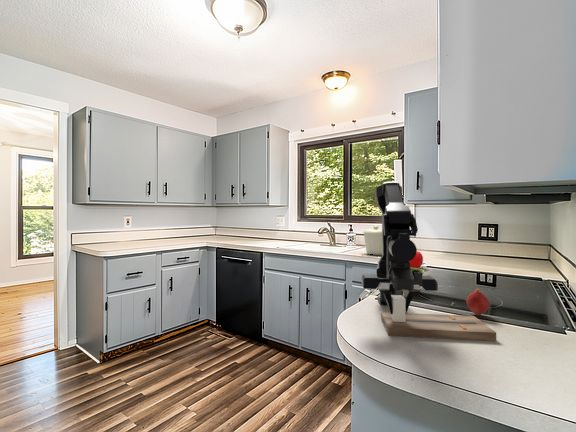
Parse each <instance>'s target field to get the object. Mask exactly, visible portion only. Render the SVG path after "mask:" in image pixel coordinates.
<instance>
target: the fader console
mask: <svg viewBox="0 0 576 432" xmlns="http://www.w3.org/2000/svg"><path fill="white" fill-rule="evenodd" d="M380 319H381V322H382V324H383V326H384V329H385V331H386V334H387V336H392V337H407V338H408V337H409V338H410V337H411V338H412V337H413V338H430V339H431V338H432V339H446V340H447V339H451V340H469V341H471V340H472V341H492V342H497V332H496V331H495V330H493V329H492V328H491V327H489V326H488V325H487V324H486V323H484V322H483V321H481V320H480V319H478V317H476V315H475V316H474V315H460V314H458V315H457V314H437V313H435V314H434V313H413V312H411V313H410V312H409V313H408V312H407V313H406V322H394V321H393V319H392V318H391V313H390V311H389V312H380Z"/></svg>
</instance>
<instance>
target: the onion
mask: <svg viewBox="0 0 576 432" xmlns="http://www.w3.org/2000/svg"><path fill="white" fill-rule="evenodd" d="M465 301H466V306H467V308H468V309H469V310H470V311H471V312H472V313H473V314H474V315H475V316H481V315H482V314H484V313H485V312H486V311H488V310H489V308H490V302H489V299H488V297H487V296H486V295H485V294H484V293H482V292H481V290H480V288H476V289H475V290H474V291H473V292H470V294H469V295H467V298H466V300H465Z"/></svg>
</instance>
